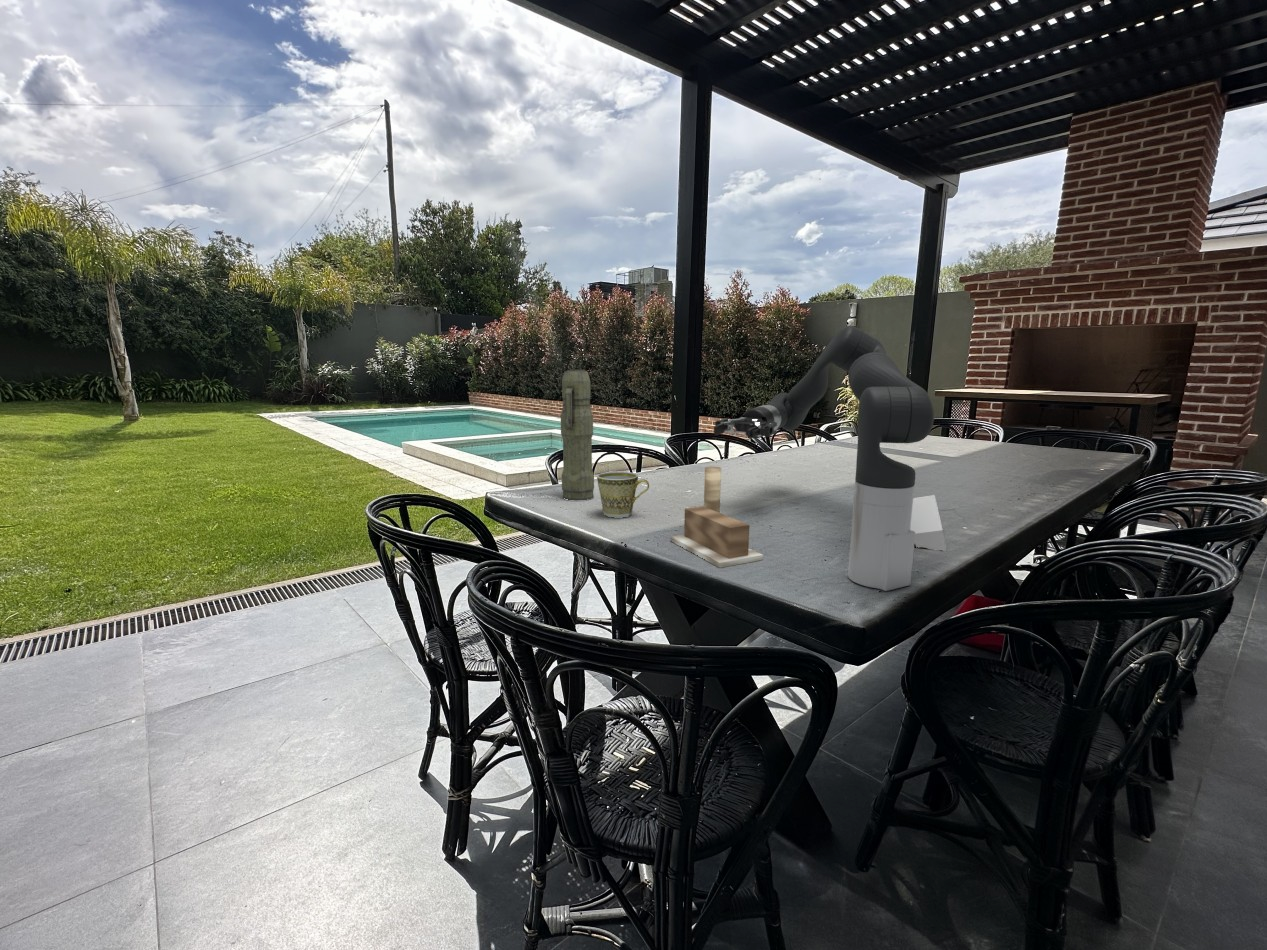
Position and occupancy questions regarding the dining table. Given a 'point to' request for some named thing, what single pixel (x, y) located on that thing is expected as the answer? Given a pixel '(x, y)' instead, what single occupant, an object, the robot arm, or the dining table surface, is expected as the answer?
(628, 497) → the ceramic cup
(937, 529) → the decorative molding
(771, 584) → the dining table surface
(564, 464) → the thermos
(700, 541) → the stand
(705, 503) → the dowel
